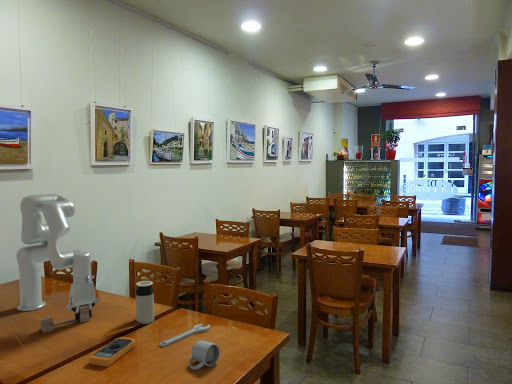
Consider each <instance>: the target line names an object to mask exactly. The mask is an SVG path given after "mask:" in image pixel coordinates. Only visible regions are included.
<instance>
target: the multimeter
mask: <svg viewBox="0 0 512 384" xmlns="http://www.w3.org/2000/svg"><path fill="white" fill-rule="evenodd" d="M135 346H136V340H135V338H131V337H125V336H120V337H117V338H115V339H114V340H112V341H111V342H110V343H108V344H106V345H105V346H103V347H102V348H101V349H99V350H97V351H95V352H94V353H92V354H91V355H89V357H88V358H89V364H90V365H93V366H99V367H105V368H108V367H109V366H111V365H112V364H114V363H115V362H116V361H117V360H119V359H120V358H122V357H123V356H124V355H126V354H127V353H129V352H130V351H131V350H133V349H134V348H135Z"/></svg>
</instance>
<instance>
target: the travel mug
mask: <svg viewBox="0 0 512 384" xmlns="http://www.w3.org/2000/svg"><path fill="white" fill-rule="evenodd" d="M153 283H154V282H153V281H151V280H142V281H137V282H136V283H135V285H136V290H135V313H136V314H135V317H136V323H139V325H147V324H151V323H153V322H154V321H155V298H154V297H155V296H154V295H155V294H154V293H155V291H154V287H153Z"/></svg>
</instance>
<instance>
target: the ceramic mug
mask: <svg viewBox="0 0 512 384" xmlns="http://www.w3.org/2000/svg"><path fill="white" fill-rule="evenodd" d="M220 350H221V349H220V346H219V345H218V344H216V343H213V342H209V341H208V340H207V341H206V340H198V341H196V342H195V343H194V344H193V345H192V349H191V357H190V359H189V361H188V366H189V368H190V369H191V370H194V371H196V370H199V369H201V368H202V367H204V366H207V367H209V368H210V367H213V366H214V365H216V364H217V362H218V361H219V358H220V352H221V351H220ZM194 361H196V362H198V364H197V365H193V364H192V363H193V362H194Z"/></svg>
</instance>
